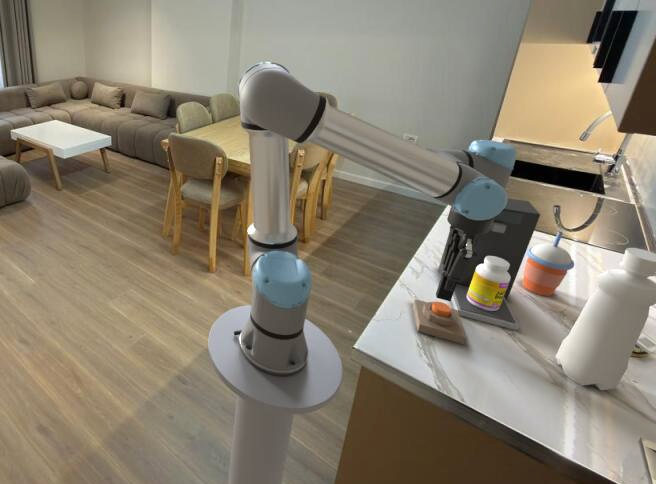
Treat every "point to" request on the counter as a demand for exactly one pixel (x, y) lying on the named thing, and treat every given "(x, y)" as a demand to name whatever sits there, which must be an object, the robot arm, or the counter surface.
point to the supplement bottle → (489, 283)
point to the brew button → (441, 309)
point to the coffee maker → (503, 242)
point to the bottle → (610, 323)
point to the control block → (438, 322)
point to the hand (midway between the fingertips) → (443, 297)
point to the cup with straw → (546, 267)
